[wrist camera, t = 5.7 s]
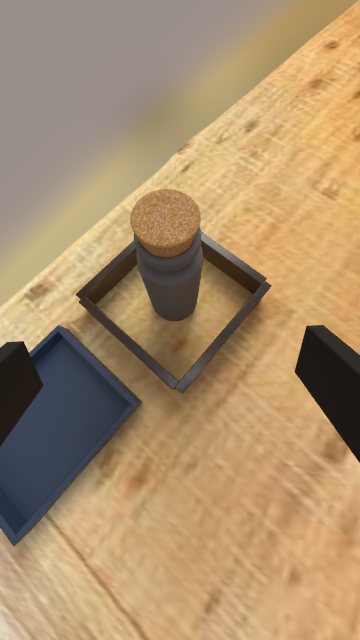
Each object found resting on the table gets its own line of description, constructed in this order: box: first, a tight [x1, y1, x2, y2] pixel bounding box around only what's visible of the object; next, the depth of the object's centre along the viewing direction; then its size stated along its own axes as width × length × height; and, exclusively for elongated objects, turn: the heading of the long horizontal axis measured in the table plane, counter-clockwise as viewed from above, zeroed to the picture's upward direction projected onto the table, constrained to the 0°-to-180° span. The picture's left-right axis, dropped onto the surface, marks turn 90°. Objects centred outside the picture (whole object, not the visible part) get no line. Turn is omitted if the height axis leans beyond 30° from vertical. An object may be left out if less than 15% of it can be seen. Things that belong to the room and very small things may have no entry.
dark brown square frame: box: [76, 232, 271, 393], centre depth 27 cm, size 17×17×3 cm
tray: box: [0, 325, 142, 546], centre depth 24 cm, size 16×13×2 cm
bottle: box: [131, 189, 203, 321], centre depth 22 cm, size 6×6×15 cm
